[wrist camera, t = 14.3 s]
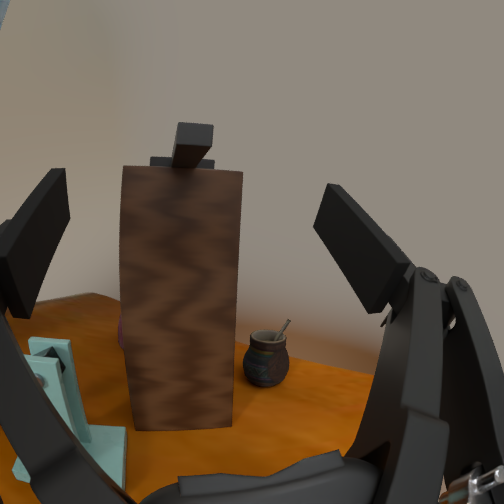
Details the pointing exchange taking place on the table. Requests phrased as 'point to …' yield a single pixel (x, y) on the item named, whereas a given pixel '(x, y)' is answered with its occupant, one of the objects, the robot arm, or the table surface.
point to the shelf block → (179, 294)
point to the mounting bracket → (74, 410)
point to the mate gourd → (266, 357)
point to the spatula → (189, 147)
